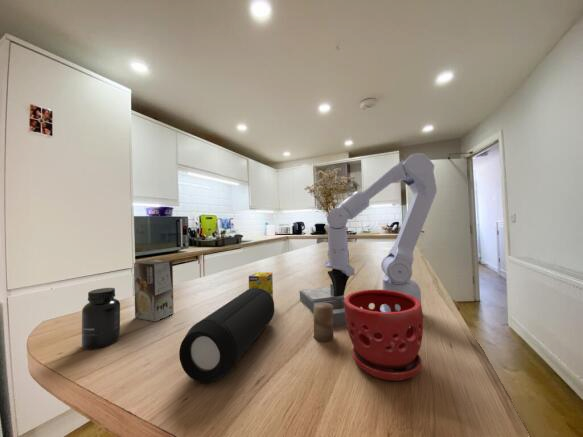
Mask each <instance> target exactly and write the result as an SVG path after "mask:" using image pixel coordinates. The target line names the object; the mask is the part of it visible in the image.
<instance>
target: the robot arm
mask: <svg viewBox="0 0 583 437" xmlns="http://www.w3.org/2000/svg"><path fill="white" fill-rule="evenodd" d="M434 171H435V165H434V163H433V162H432V160H431V159H430V158H429V157H428V155H426V154H424V153H422V152H415V153H412V154H410V155H409V156H408V157H407V158H406V159H405V160H404V159H403V160H401V161H400V162H398V163H396V164H395V165H393V166H392V167H390V168H389V169H388V170H387V171H385V172H384V173H383V174H382V175H381V176H379V177H378V178H377V179H376V180H375V181H374V182H373V183H371V184H370V185H368V187H367V188H365V189H364V190H363V191H358V190H357V191H355V192H350V193H348V197H347V198H346V199H344V200H343V201H342V202H341V203H337V204H336V205H335V208H332V209H330V211H329V212H328V214H326V215H327V217H326V221H327V224H328V228H327V232H328V234H327V240H328V241H327V246H328V248H327V249H328V260H325V264H324V266H325V268H327V269H331V270H328V271H327V274H328V276H329V278H330V282H331V284H333V287H334V291H335V295H336V296H344V297H345V291H346V286H347V283H348V280H349V279H350V278H351V277H350V276H352V277H353V276H355V268H354V267H353V266H351V265H350V263H349V244H348V243H349V242H348V240H349V239H348V232H347V223H348V222H349V220H351V221H352V220H353V219H354V218H356V217H357V216H358V215H360V214H361V213H362V212H363V211H365V210H367V208H369V207H370V200H371V199H372V198H373V197H375V196H376V195H377V194H379V193H380V192H381V191H383V190H384V189H386V188H387V187H388V186H390V185H391V184H399V183H400V182H402V183H403V184H405V185H407V186H408V187H409V189H410V190H411V192H412V194H413V195H412V197H411V198H412V199H411V201H410V203H409V206H408V209H407V211H406V214H405V216H404V219H403V222H402V224H401V227H400V229H399V231H398V234H397V237H396V240H395V242H394V244H393V246H392V247H391V249H390V250H389V252H388V254H387V256H385V257H384V258H383V259H382V261H381V264H380V265H381V266H380V267H381V270H382V272H383V273H384V276H383V277H382V290H391V291H397V292H402V293H405V294H409V295H411V296H413V297H415V298H417V299H418V300H419V301H420V303H421V304H422V293H421V288H420V286H419V284H418V283H417V282H416V281H415V280H412V279H411V278H412V276H413V266H412V265H413V262H414V251H415V247H416V245H417V243H418V240H419V237H420V236H421V235H420V234H421V232H422V230H423V227H424V225H425V222H426V220H427V217H428V215H429V213H430V209H431V208H432V205H433V203H434V199H435V197H436V194H437V189H438V188H437V184H436V178H435V174H434ZM395 309H396V310H397V311H400V309H401V308H400V306H399V305H398V304H396V305H395ZM380 310H381V312H391V309H390V307H389V306H388V305H386V304H383V306H381V307H380ZM422 313H423V316H424V315H425V313H424V312H422Z"/></svg>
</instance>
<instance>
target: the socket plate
mask: <svg viewBox="0 0 583 437" xmlns="http://www.w3.org/2000/svg"><path fill="white" fill-rule="evenodd" d="M302 290H303V289H301V290H299V300H300V301H301V302H302V304H304V305H305V307H307V308H308V309H309V310H310V312H312V314H314V304H316V303H329V304H331V305H333V327H334V326H341V325H347V324H346V319H345V309H344V299H345V297H344V298H342V299H334V300H326V301H318V302H313V301H311V300H310V299H309V298H308V297H307V296H306V295H305V294H304V293H302Z"/></svg>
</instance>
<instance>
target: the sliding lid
mask: <svg viewBox="0 0 583 437" xmlns="http://www.w3.org/2000/svg"><path fill="white" fill-rule="evenodd" d="M301 290H302V293H304V294H305V295H306V296H307V297H308V298H309V299H310V300H311V301H313V302H318V301H326V300H334V299H342V298H345V295H344V296H336V295H335V291H334V287H333V284H332V283H331V284H329V286H324V287H323V286H322V287H314V288H306V289H304V288H303V289H301Z"/></svg>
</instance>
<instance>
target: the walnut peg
mask: <svg viewBox="0 0 583 437" xmlns="http://www.w3.org/2000/svg"><path fill="white" fill-rule="evenodd" d="M313 338H314V339H315V340H316V341H318V342H322V343H323V342H324V343H326V342H331V341H333V339H334V326H333V305H331V304H329V303H316V304H314V313H313Z"/></svg>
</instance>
